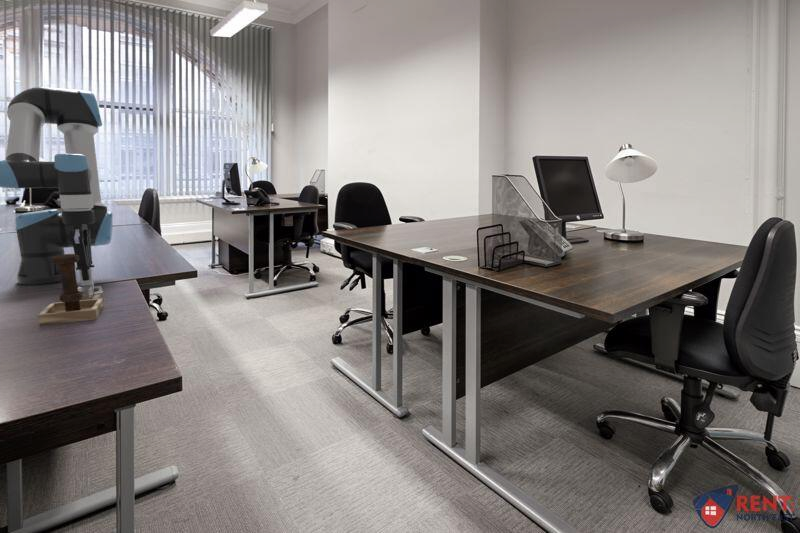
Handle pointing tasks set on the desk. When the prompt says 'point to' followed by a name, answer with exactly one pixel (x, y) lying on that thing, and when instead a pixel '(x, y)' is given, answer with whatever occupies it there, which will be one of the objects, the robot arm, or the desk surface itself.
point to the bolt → (68, 281)
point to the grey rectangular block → (86, 292)
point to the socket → (72, 312)
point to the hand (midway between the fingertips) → (88, 290)
